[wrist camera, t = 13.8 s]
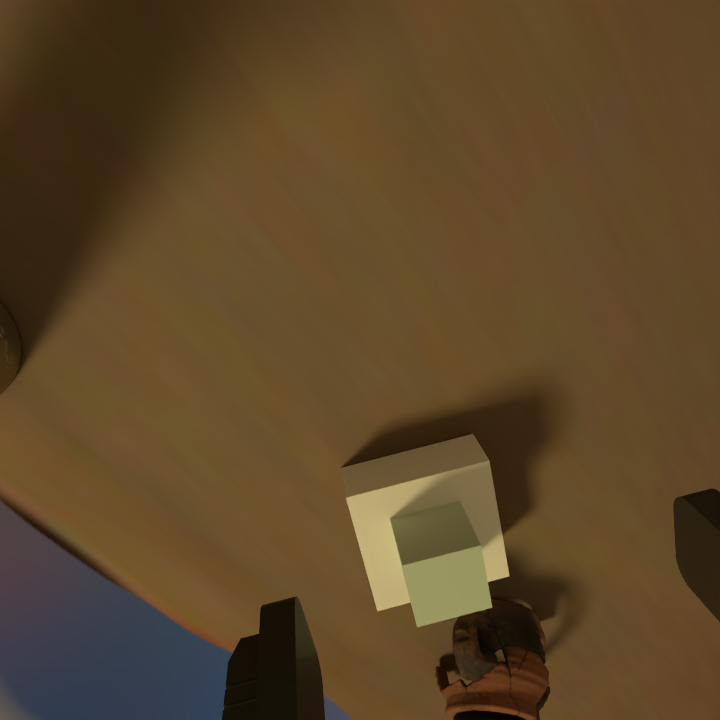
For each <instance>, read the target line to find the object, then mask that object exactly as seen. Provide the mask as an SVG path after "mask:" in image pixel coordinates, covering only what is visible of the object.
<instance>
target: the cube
mask: <svg viewBox="0 0 720 720" xmlns="http://www.w3.org/2000/svg"><path fill="white" fill-rule="evenodd" d="M390 521H391V526H392V530H393V534H394V538H395V542H396V546H397V550H398V554H399V558H400V563H401V567H402V571H403V575H404V579H405V583H406V586H407V590H408V594H409V598H410V601H411V605H412V609H413V613H414V617H415V620H416V624H417V627H420V626H424V625H428V624H431V623H435V622H439V621H443V620H447V619H451V618H454V617H458V616H462V615H466V614H470V613H474V612H477V611H481V610H485V609H489V608H492V603H491V597H490V592H489V586H488V581H487V575H486V570H485V564H484V559H483V553H482V548H481V544H480V542H479V540H478V538H477V536H476V534H475V531H474V529H473V527H472V525H471V523H470V521H469V519H468V517H467V514H466V512H465V510H464V508H463V506H462V504H461V502H460V501H456V502H453V503H449V504H445V505H441V506H437V507H433V508H429V509H425V510H421V511H417V512H413V513H409V514H406V515H402V516H398V517H394V518H390Z"/></svg>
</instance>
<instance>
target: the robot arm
mask: <svg viewBox="0 0 720 720" xmlns="http://www.w3.org/2000/svg"><path fill="white" fill-rule="evenodd" d="M20 358H21V345H20V338H19V335H18V331H17V328H16V325H15V323H14V321H13V320H12V318H11V316H10V315H9V313H8V311H7V310H6V309H5V307H4V306H3V305H2V304H1V303H0V395H1V394H2V393H3V392H4V391H5V390H6V389H7V387H8V386H9V385H10V384H11V382H12V381H13V380H14V378H15V375H16V373H17V371H18V368H19V365H20ZM673 508H674V528H675V547H676V559H677V564H678V567H679V570H680V572H681V574H682V576H683V578H684V580H685V582H686V583H687V585H688V586H689V588H690V589H691V590H692V591H693V592H694V593H695V594H696V596H697V597H698V598H699V599H700V600H701V601H702V602H703V604H704V605H705V606H706V607H707V608H708V609H709V610H710V612H711V613H712V614H713V615H714V616H715V617H716V618H717V619H718V621H719V622H720V492H719V491H718V490H716V489H708V490H704V491H700V492H696V493H693V494H689V495H685V496H681V497H678V498H676V499H675V501H674V507H673ZM224 698H225V699H224V710H223V717H222V720H325V713H324V698H323V684H322V676H321V669H320V664H319V660H318V656H317V652H316V649H315V646H314V643H313V640H312V637H311V634H310V631H309V628H308V625H307V622H306V619H305V616H304V613H303V610H302V607H301V604H300V601H299V599H298V597H292V598H288V599H285V600H281V601H277V602H273V603H269V604H266V605H262V606H261V611H260V629H259V634H257V635H253V636H249V637H245V638H241V639H240V641H239V643H238V645H237V647H236V648H235V650H234V652H233V654H232V656H231V658H230V660H229V662H228V670H227V680H226V691H225V697H224Z"/></svg>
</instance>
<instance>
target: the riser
mask: <svg viewBox="0 0 720 720" xmlns="http://www.w3.org/2000/svg"><path fill="white" fill-rule="evenodd" d="M341 470H342V476H343V482H344V488H345V494H346V499H347V503H348V507H349V510H350V514H351V517H352V521H353V525H354V528H355V532H356V535H357V539H358V543H359V546H360V550H361V553H362V557H363V561H364V564H365V568H366V571H367V575H368V579H369V582H370V586H371V589H372V593H373V597H374V600H375V604H376V608H377V611H380V610H384V609H388V608H391V607H395V606H399V605H403V604H406V603H410V602H411V601H410V598H409V594H408V590H407V586H406V583H405V579H404V575H403V571H402V567H401V563H400V558H399V554H398V550H397V546H396V542H395V538H394V534H393V530H392V526H391V521H390V518H394V517H398V516H402V515H406V514H409V513H413V512H417V511H421V510H425V509H429V508H433V507H437V506H441V505H445V504H449V503H453V502H456V501H460V502H461V504H462V506H463V508H464V510H465V512H466V514H467V517H468V519H469V521H470V523H471V525H472V527H473V529H474V531H475V534H476V536H477V538H478V540H479V542H480V544H481V548H482V553H483V559H484V564H485V570H486V575H487V581H488V582H490V581H494V580H497V579H501V578H505V577H509V571H508V565H507V559H506V553H505V548H504V542H503V536H502V530H501V525H500V519H499V513H498V507H497V502H496V496H495V490H494V484H493V479H492V473H491V467H490V461H489V459H488V458H487V456H486V454H485V453H484V451H483V449H482V448H481V446H480V444H479V443H478V441H477V440H476V438H475V436H474V435H473V434H470V435H466V436H463V437H459V438H455V439H451V440H447V441H443V442H439V443H435V444H432V445H428V446H424V447H420V448H416V449H412V450H408V451H404V452H401V453H397V454H393V455H389V456H385V457H381V458H377V459H373V460H370V461H366V462H362V463H358V464H354V465H350V466H346V467H342V468H341Z"/></svg>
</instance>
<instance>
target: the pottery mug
mask: <svg viewBox="0 0 720 720" xmlns="http://www.w3.org/2000/svg"><path fill="white" fill-rule="evenodd" d="M491 603H492V608H489V610H488V617H487V616H486V615H484V614H483V613H481V612H478V611H477V612H474V613H470V614H466V615H462V616H460V617H459V618H458V619H457V621H456V622H455V625H454V628H453V651H454V655H455V657H456V658H455V661H456V664H457V666H458V669H459V672H460V674H461V676H462V677H463V678H464V679H467V680H472V683H470V684H468V685H466V684H465V683H464V682H463V680H461V679H460V680H458V681H456V682H455V683H453V684H450V685H449V681H448V676H447V672H446V670H445V669H444V668H442V667H436V675H435V676H436V678H437V685H438V686H439V689H440V692H441V694H442V696H443V697H444V698H445V699H446V701H447V706H446V710H445V713H446V715H448V716H451V717H453V720H540V718H539V710H540V709H541V708H542V707H543V706H544V704H545V702H546V701H547V698H548V695H549V694H550V687H549V686H548V685H549V680H548V677H549V672H548V670H547V668H546V667H545V665H544V663H545V662H546V660H545V653H544V651H543V646H544V645H545V644H546V641H545V635H544V632H543V631H542V628H541V625H540V620H539V618H538V616H537V615H536V613H534V612H533V611H531V610H530V609H529V608H527V607H525V606H523V605H522V604H518V603H515V602H513V601H508V600H500V599H491ZM499 649H502V651H503V654H504V657H505V660H506V662H497V657H496V655H495V652H496V651H498V650H499ZM547 686H548V687H547Z"/></svg>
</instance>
